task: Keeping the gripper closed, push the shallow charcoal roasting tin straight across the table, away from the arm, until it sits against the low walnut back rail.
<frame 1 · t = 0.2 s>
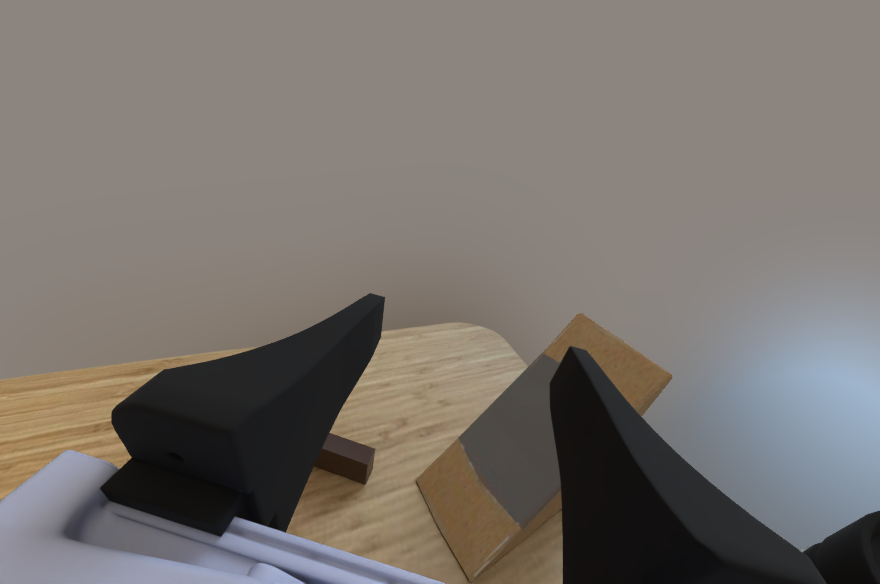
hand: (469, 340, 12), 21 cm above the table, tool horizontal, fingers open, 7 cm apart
back rail: (286, 447, 29), on the table
sandwich container: (505, 482, 30), on the table
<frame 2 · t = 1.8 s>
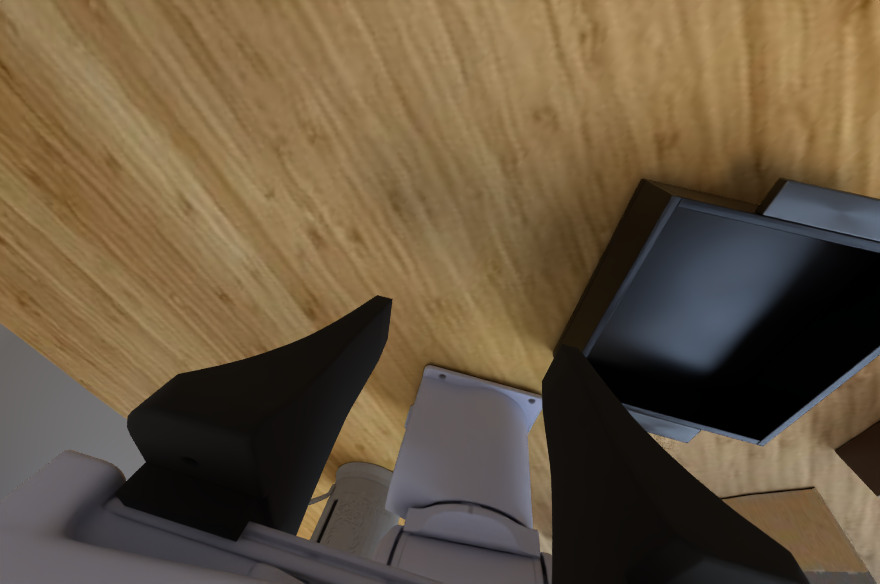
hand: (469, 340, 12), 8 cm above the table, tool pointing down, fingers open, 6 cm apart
glass holder: (352, 472, 36), on the table
sandwich container: (771, 538, 28), on the table
roasting tin: (691, 305, 18), on the table
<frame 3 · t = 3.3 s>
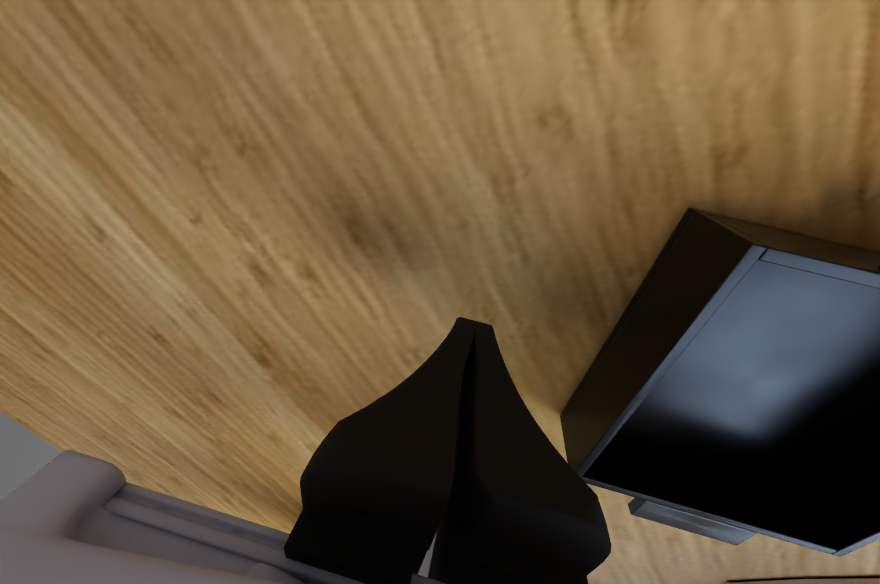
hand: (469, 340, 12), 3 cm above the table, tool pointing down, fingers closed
roasting tin: (744, 369, 14), on the table
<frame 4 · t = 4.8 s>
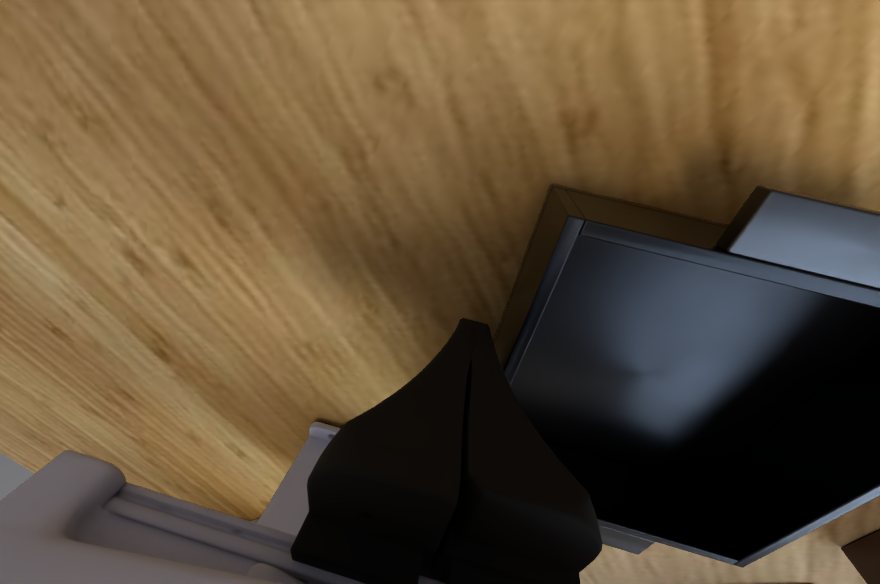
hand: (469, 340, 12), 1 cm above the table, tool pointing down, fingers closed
roasting tin: (640, 364, 13), on the table, touching gripper
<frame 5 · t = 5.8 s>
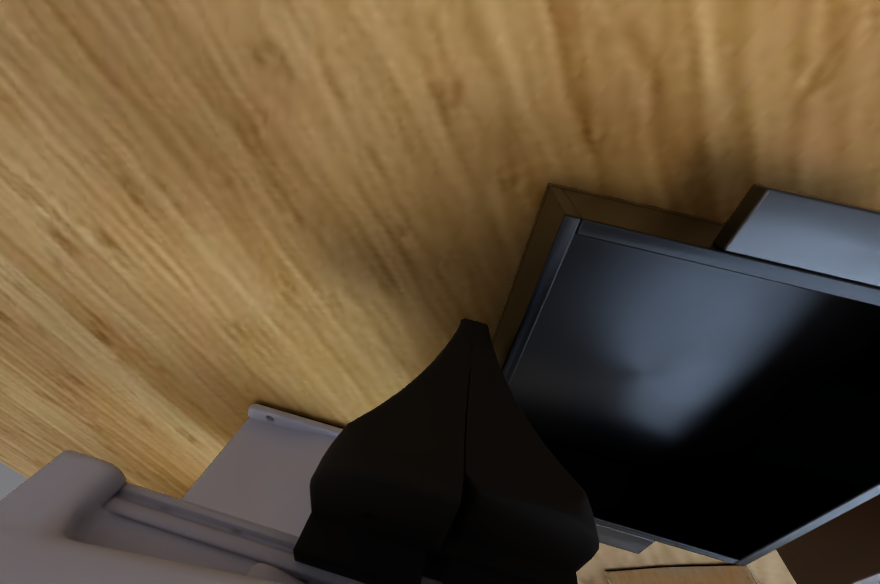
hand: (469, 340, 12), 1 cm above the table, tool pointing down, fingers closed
roasting tin: (639, 363, 13), on the table, touching gripper
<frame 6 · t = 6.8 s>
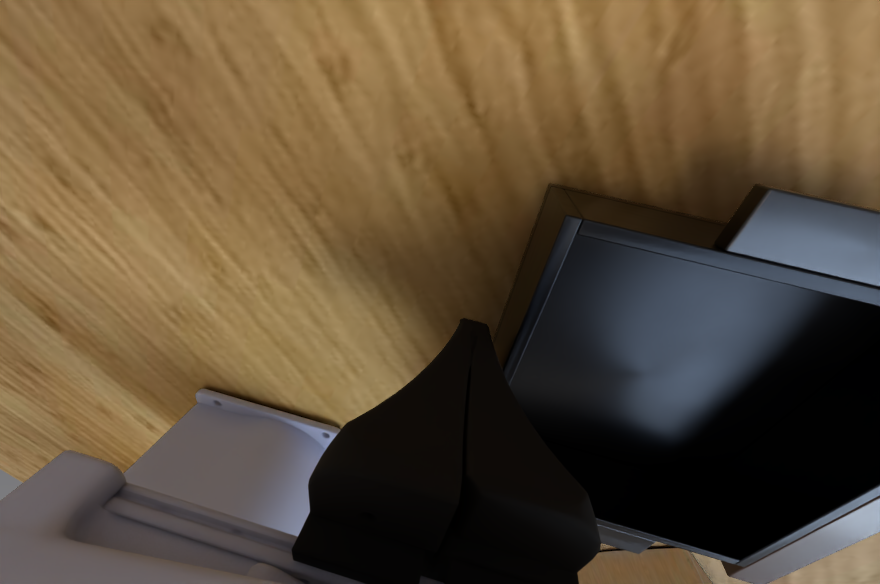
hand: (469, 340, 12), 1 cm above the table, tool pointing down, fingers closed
back rail: (837, 415, 12), on the table
roasting tin: (640, 364, 13), on the table, touching gripper
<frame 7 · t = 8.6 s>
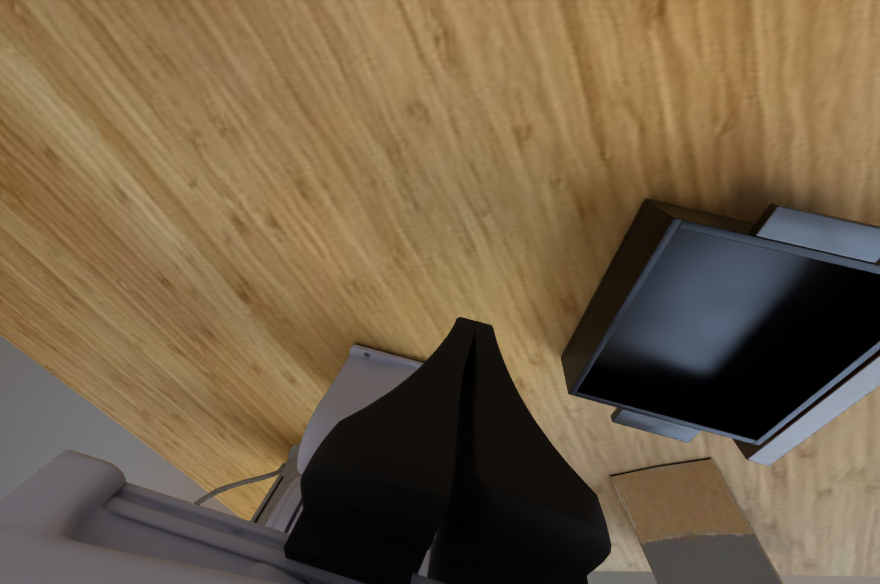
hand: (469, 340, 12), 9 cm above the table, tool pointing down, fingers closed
back rail: (818, 345, 19), on the table
glass holder: (304, 453, 38), on the table
sandwich container: (685, 510, 30), on the table
roasting tin: (691, 314, 20), on the table
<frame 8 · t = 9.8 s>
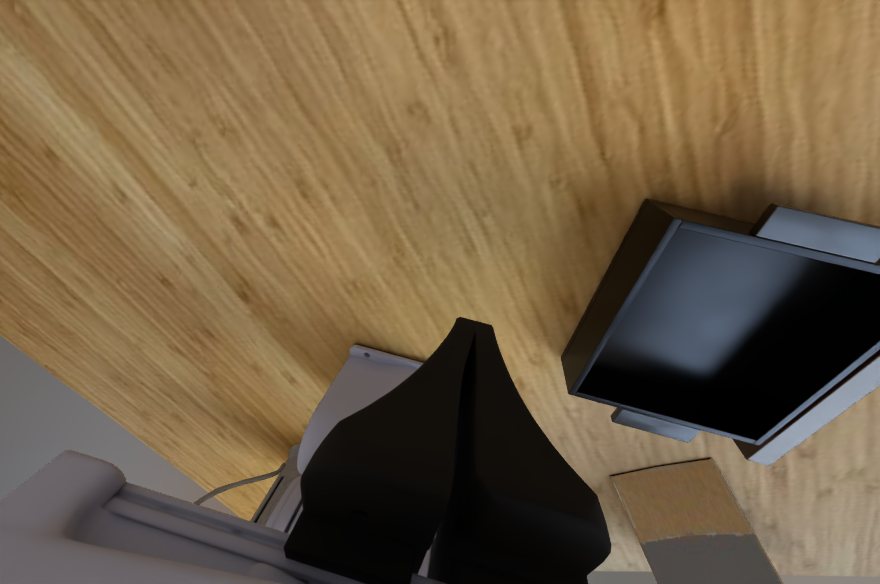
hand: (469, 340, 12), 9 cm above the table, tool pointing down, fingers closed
back rail: (818, 345, 19), on the table
glass holder: (304, 453, 38), on the table
sandwich container: (685, 510, 30), on the table
roasting tin: (691, 314, 20), on the table
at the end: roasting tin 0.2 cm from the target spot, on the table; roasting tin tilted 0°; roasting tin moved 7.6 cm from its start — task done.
